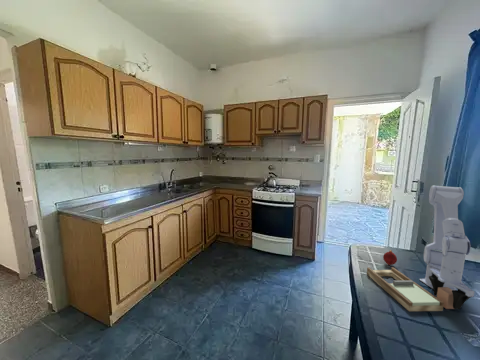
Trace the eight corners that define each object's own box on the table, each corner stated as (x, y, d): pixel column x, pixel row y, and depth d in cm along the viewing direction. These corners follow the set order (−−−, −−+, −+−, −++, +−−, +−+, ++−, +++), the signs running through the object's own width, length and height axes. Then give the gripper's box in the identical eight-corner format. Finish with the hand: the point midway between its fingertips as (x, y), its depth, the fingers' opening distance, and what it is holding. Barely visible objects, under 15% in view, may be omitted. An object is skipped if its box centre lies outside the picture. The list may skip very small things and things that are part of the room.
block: (445, 301, 83) (447, 287, 82) (456, 308, 79) (458, 294, 78) (435, 301, 83) (438, 287, 82) (446, 308, 79) (448, 294, 78)
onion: (398, 268, 106) (400, 253, 105) (385, 267, 107) (387, 252, 106) (392, 263, 112) (394, 248, 111) (380, 261, 113) (382, 247, 112)
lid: (413, 286, 88) (414, 280, 88) (439, 305, 77) (440, 298, 77) (389, 286, 88) (390, 280, 87) (412, 305, 77) (413, 298, 77)
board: (392, 273, 101) (393, 267, 101) (442, 310, 77) (444, 302, 77) (366, 273, 101) (367, 267, 100) (408, 311, 77) (410, 303, 76)
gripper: (423, 258, 86) (419, 289, 87) (463, 279, 71) (456, 316, 73) (440, 258, 86) (435, 289, 88) (482, 279, 72) (476, 315, 73)
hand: (446, 301), depth 80 cm, fingers open, 7 cm apart
